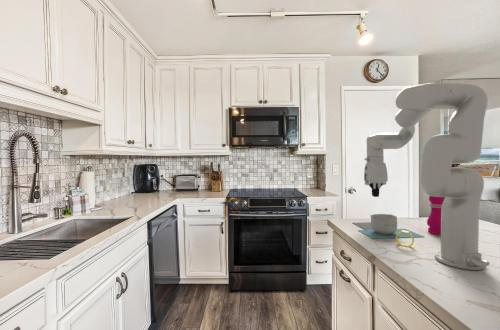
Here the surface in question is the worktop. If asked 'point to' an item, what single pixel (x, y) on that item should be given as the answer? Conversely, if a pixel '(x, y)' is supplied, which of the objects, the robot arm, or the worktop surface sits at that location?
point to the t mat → (374, 235)
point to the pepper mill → (435, 215)
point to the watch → (405, 233)
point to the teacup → (384, 223)
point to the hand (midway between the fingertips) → (375, 196)
